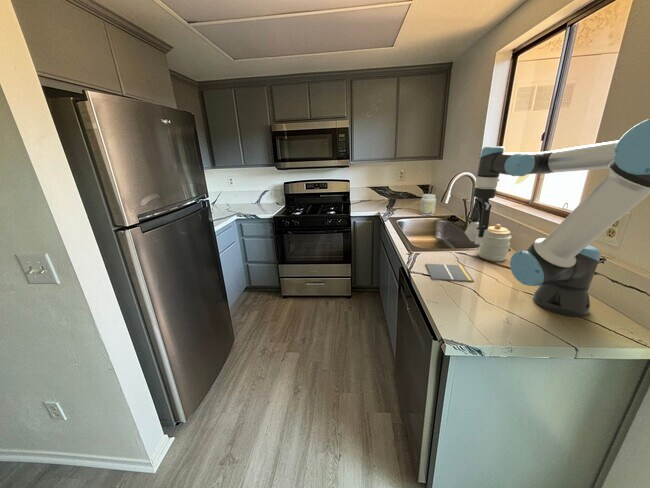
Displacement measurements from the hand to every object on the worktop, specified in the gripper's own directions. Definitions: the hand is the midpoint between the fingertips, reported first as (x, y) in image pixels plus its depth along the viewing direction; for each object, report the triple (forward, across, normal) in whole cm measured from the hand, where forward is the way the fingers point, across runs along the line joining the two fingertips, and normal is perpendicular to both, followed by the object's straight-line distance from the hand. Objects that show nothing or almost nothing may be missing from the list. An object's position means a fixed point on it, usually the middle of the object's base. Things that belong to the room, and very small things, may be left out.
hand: (475, 239), depth 115 cm
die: (0, 0, 0) cm, 0 cm away
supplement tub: (+20, +117, +6) cm, 119 cm away
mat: (+16, -1, +9) cm, 19 cm away
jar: (+17, +24, -16) cm, 33 cm away
